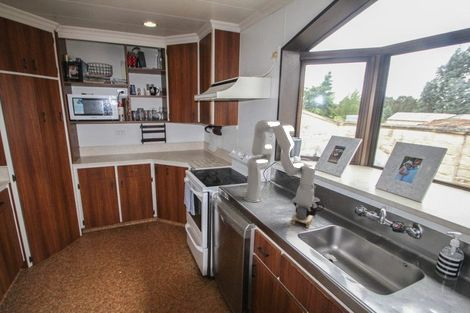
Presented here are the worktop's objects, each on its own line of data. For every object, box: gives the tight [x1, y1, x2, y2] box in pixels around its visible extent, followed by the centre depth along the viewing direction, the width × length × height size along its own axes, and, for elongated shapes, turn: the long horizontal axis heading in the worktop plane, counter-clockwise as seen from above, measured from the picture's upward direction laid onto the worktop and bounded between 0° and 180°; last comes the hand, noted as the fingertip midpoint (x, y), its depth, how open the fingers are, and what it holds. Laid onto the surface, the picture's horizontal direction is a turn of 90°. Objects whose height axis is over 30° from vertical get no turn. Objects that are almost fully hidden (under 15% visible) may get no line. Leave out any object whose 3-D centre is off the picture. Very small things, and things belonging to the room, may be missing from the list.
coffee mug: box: [310, 196, 325, 216], centre depth 156 cm, size 12×9×10 cm
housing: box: [295, 204, 308, 219], centre depth 142 cm, size 8×6×6 cm
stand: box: [290, 212, 314, 230], centre depth 144 cm, size 10×10×4 cm
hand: (302, 214), depth 143 cm, fingers closed on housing, 5 cm apart
